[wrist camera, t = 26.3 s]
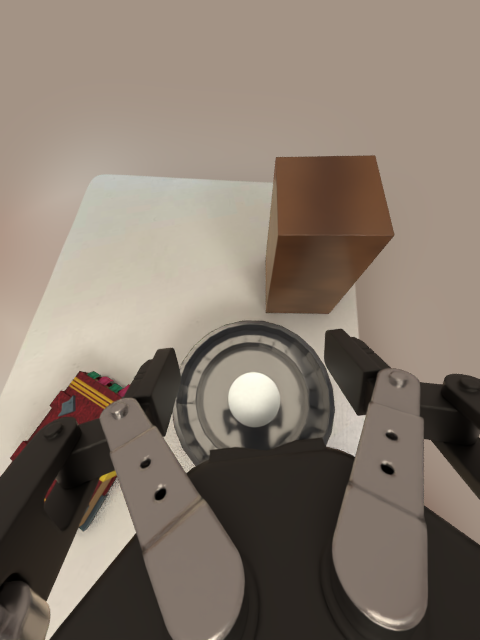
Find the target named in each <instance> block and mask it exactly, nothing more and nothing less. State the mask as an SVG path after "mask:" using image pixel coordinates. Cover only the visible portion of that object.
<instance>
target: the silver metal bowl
mask: <svg viewBox="0 0 480 640" xmlns="http://www.w3.org/2000/svg"><path fill="white" fill-rule="evenodd" d="M249 372H259V373H262V374H265V375H266V376H268V377H269V378H271V379H272V380H273V381H274V383H275V384H276V386H277V388H278V390H279V393H280V407H279V410H278V413H277V414H276V416H275V417H274V419H273V420H272V421H270V422H269V423H268V424H266V425H264V426H260V427H249V426H246V425H243V424H241V423H240V422H238V421H237V420H236V419H235V418H234V416H233V415H232V413H231V411H230V409H229V405H228V393H229V389H230V387H231V385H232V383H233V382H234V381H235V380H236V379H237V378H238V377H239V376H241V375H243V374H245V373H249ZM180 374H181V383H180V387H179V390H178V394H177V397H176V401H175V404H174V408H173V411H172V412H173V421H174V426H175V427H174V428H175V430H176V433H177V435H178V438H179V441H180V443H181V446H182V448H183V450H184V451H185V452H186V454H187V455H188V456H189V458H190V459H191V461H192V462H193V463H194V465H195V466H197V465H199V464H201V463H203V462H205V461H207V460H209V454H210V450H213V449H222V448H231V447H243V448H250V449H258V450H270V449H273V448H276V447H278V446H281V445H284V444H286V443H289V442H292V441H294V440H303V439H312V438H321V437H322V439H323V441H324V443H325V446H326V444H327V442H328V440H329V437H330V435H331V432H332V426H333V419H334V413H335V406H334V396H333V388H332V384H331V382H330V379H329V376H328V373H327V371H326V368H325V366H324V364H323V363H322V361H321V360H320V358H319V357H318V355H317V354H316V352H315V351H314V349H313V348H312V347H311V346H309V345H308V344H307V343H306V342H305V341H304V340H303V339H302V338H301V337H300V336H298V335H297V334H295V333H293V332H291V331H290V330H288V329H286V328H284V327H282V326H280V325H276V324H273V323H269V322H265V321H239V322H235V323H231V324H226V325H224V326H222V327H220V328H218V329H216V330H214V331H212V332H210V333H209V334H207V335H206V336H205V337H204V338H203V339H201V340H200V341H199V342H198V343H197V344H196V345H194V347H193V348H192V349H191V351H190V352H189V354H188V355H187V356H186V358H185V359H184V361H183V362H182V364H181V367H180Z"/></svg>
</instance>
